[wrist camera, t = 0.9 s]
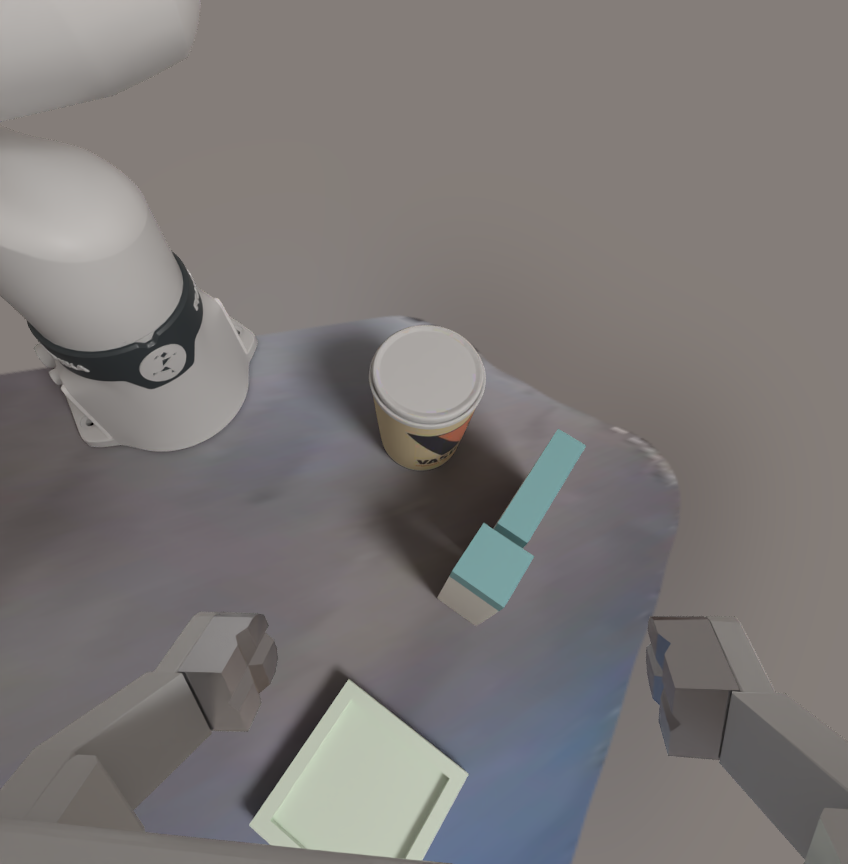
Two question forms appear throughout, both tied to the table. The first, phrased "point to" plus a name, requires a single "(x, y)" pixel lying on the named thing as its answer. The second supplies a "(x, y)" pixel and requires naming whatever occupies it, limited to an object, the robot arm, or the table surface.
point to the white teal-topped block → (485, 576)
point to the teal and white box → (539, 489)
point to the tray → (362, 785)
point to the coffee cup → (425, 393)
